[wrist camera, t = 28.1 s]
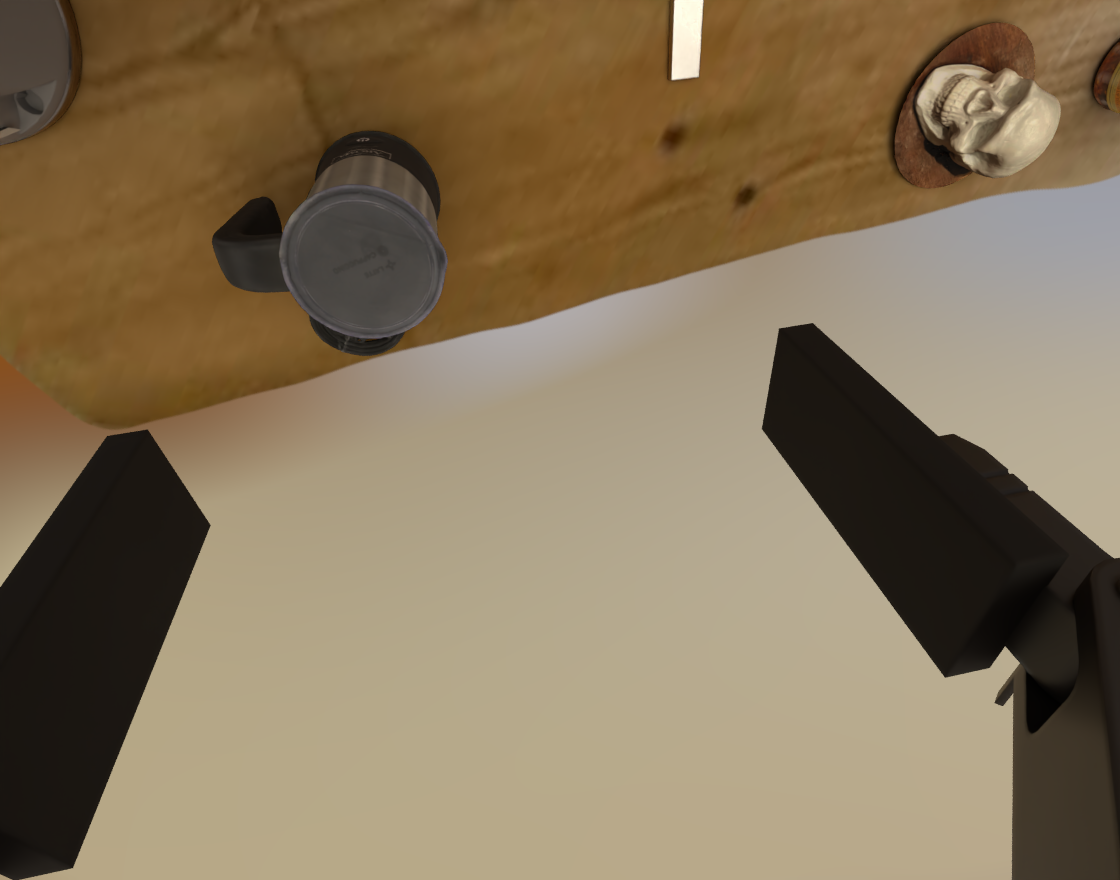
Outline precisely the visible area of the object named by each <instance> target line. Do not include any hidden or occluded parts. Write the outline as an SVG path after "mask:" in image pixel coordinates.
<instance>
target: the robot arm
mask: <svg viewBox="0 0 1120 880" xmlns="http://www.w3.org/2000/svg"><path fill="white" fill-rule="evenodd" d="M80 73H81V46H80V39H79V33H78V28H77V24H76V21H75V17H74V14H73V11H72V8H71V5H70V3H69V0H0V145H3V144H8V143H13V142H16V141H19V140H22V139H25V138H27V137H30V136H33V135H35V134H37V133H39V132H41V131H43V130H45V129H47V128H48V127H50V126H51V125H53V124H54V123H55V122H56V121H57V120H59V119H60V118H61V117H62V115H63V114H64V113H65V112H66V110H67V109H68V108H69V106H70V104H71V102H72V101H73V99H74V96H75V94H76V91H77V88H78V84H79V80H80ZM762 430H763V431H764V432H765V434H766V435H767V436H768V438H769V439H770V441H771V442H772V443H773V445H774V446H775V447H776V449H777V450H778V451H779V453H780V454H781V455H782V457H783V458H784V460H785V461H786V462H787V464H788V465H789V466H790V468H791V469H792V470H793V472H794V473H795V474H796V476H797V477H798V479H799V480H800V481H801V483H802V484H803V485H804V487H805V488H806V489H807V491H808V492H809V493H810V495H811V496H812V498H813V499H814V500H815V502H816V503H817V504H818V506H819V507H820V508H821V510H822V511H823V512H824V514H825V515H826V517H827V518H828V519H829V521H830V522H831V523H832V525H833V526H834V527H835V529H836V530H837V531H838V533H839V534H840V536H841V537H842V538H843V540H844V541H845V542H846V544H847V545H848V546H849V548H850V549H851V551H852V552H853V553H854V555H855V556H856V557H857V559H858V560H859V561H860V563H861V564H862V565H863V567H864V568H865V569H866V571H867V572H868V573H869V575H870V576H871V578H872V579H873V580H874V582H875V583H876V584H877V586H878V587H879V589H880V590H881V591H882V593H883V594H884V595H885V597H886V598H887V599H888V601H889V602H890V603H891V605H892V606H893V607H894V609H895V610H896V612H897V613H898V614H899V615H900V617H901V618H902V620H903V621H904V622H905V624H906V625H907V627H908V628H909V629H910V631H911V632H912V633H913V634H914V636H915V637H916V639H917V640H918V641H919V643H920V644H921V645H922V647H923V648H924V650H925V651H926V652H927V654H928V655H929V656H930V658H931V659H932V660H933V662H934V663H935V665H936V666H937V667H938V669H939V670H940V671H941V673H942V674H943V675H944V677H950V676H955V675H959V674H964V673H969V672H973V671H978V670H982V669H986V668H990V666H991V665H992V664H993V662H994V661H995V660H996V658H997V657H998V655H999V654H1000V652H1001V651H1002V650H1003V648H1004V647H1005V646H1006V647H1007V648H1008V650H1009V651H1010V652H1011V653H1012V654H1013V656H1014V657H1015V658H1016V659H1017V660H1018V661H1019V662H1020V664H1019V665H1018V667H1017V668H1016V669H1015V671H1014V672H1013V673H1012V675H1011V676H1010V677H1009V679H1008V680H1007V681H1006V683H1005V684H1004V685H1003V686H1002V688H1001V689H1000V690H999V692H998V695H997V697H996V700H995V703H996V704H998V705H1001V706H1003V705H1004V704H1005V703H1006V701H1007V700H1008V699H1009V698H1010V696H1011V695H1012V694H1014V695H1013V818H1012V820H1013V821H1012V823H1013V824H1012V828H1013V829H1012V880H1120V558H1115V559H1114V558H1113V557H1111V556H1110V555H1108V554H1107V553H1106V552H1105V551H1103V550H1102V549H1101V548H1099V546H1098V545H1096V544H1095V543H1094V542H1093V541H1092V540H1090V539H1089V538H1088V537H1087V536H1086V535H1085V534H1083V533H1082V532H1081V531H1080V530H1079V529H1078V528H1076V527H1075V526H1074V525H1073V524H1072V523H1070V522H1069V521H1068V520H1067V519H1066V518H1065V517H1063V516H1062V515H1061V514H1060V513H1059V512H1058V511H1056V510H1055V509H1054V508H1053V507H1052V506H1050V505H1049V504H1048V503H1047V502H1046V501H1044V500H1043V499H1042V498H1041V497H1040V496H1039V495H1037V494H1036V493H1035V492H1034V491H1029V490H1028V486H1027V485H1026V484H1025V483H1023V482H1022V481H1021V480H1020V479H1019V478H1018V477H1016V476H1015V475H1014V474H1009V473H1008V469H1007V468H1006V467H1005V466H1003V465H1002V464H1001V463H1000V462H998V461H997V460H996V459H995V458H994V457H993V456H992V455H990V454H989V453H988V452H987V451H986V450H985V449H982V448H981V447H979V446H977V445H975V444H973V443H971V442H969V441H967V440H965V439H963V438H960V437H958V436H957V435H955V434H949V435H944V436H937V435H936V434H935V433H934V432H933V431H932V430H931V429H930V428H928V427H927V426H926V425H925V424H924V423H923V422H922V421H921V420H919V419H918V418H917V417H916V416H915V415H914V414H913V413H912V412H911V411H910V410H908V409H907V408H906V407H905V406H904V405H903V404H902V403H901V402H900V401H898V400H897V399H896V398H895V397H894V396H893V395H892V394H891V393H890V392H888V391H887V390H886V389H885V388H884V387H883V386H882V385H881V384H880V383H879V382H877V381H876V380H875V379H874V378H873V377H872V376H871V375H870V374H869V373H867V372H866V371H865V370H864V369H863V368H862V367H861V366H860V365H859V364H857V363H856V362H855V361H854V360H853V359H852V358H851V357H850V356H849V355H847V354H846V353H845V352H844V351H843V350H842V349H841V348H840V347H839V346H837V345H836V344H835V343H834V342H833V341H832V340H830V338H828V337H827V336H826V335H825V334H824V333H823V332H822V331H821V330H820V329H819V328H817V327H816V326H815V325H814V324H813V323H811V324H805V325H798V326H792V327H786V328H780V329H779V333H778V339H777V345H776V350H775V356H774V362H773V368H772V374H771V379H770V385H769V391H768V397H767V403H766V408H765V414H764V420H763V426H762ZM209 528H210V524H209V522H208V521H207V519H206V518H205V516H204V515H203V513H202V512H201V510H200V509H199V507H198V506H197V504H196V502H195V501H194V499H193V498H192V496H191V495H190V493H189V492H188V490H187V489H186V487H185V486H184V484H183V483H182V481H181V479H180V478H179V476H178V475H177V473H176V472H175V470H174V469H173V467H172V466H171V464H170V463H169V461H168V460H167V458H166V457H165V455H164V454H163V452H162V451H161V449H160V448H159V446H158V444H157V443H156V442H155V440H154V438H153V437H152V436H151V434H150V432H149V431H148V430H142V431H136V432H130V433H123V434H117V435H111V436H107V437H106V439H105V440H104V441H103V443H102V444H101V446H100V447H99V448H98V450H97V451H96V453H95V454H94V456H93V457H92V459H91V460H90V461H89V463H88V464H87V466H86V467H85V468H84V470H83V471H82V473H81V474H80V475H79V477H78V478H77V479H76V481H75V482H74V484H73V485H72V487H71V488H70V490H69V491H68V492H67V494H66V495H65V496H64V498H63V500H62V501H61V502H60V504H59V505H58V506H57V508H56V509H55V511H54V512H53V514H52V515H51V516H50V518H49V519H48V521H47V522H46V523H45V525H44V526H43V528H42V529H41V531H40V532H39V533H38V535H37V536H36V538H35V539H34V540H33V542H32V543H31V545H30V546H29V547H28V549H27V550H26V552H25V553H24V555H23V556H22V557H21V559H20V560H19V562H18V563H17V564H16V566H15V567H14V569H13V570H12V572H11V573H10V574H9V576H8V577H7V579H6V580H5V582H4V583H3V584H2V586H1V587H0V874H1V875H3V876H6V877H8V878H10V879H12V880H20V879H25V878H29V877H34V876H38V875H43V874H48V873H52V872H57V871H62V870H66V869H71V868H73V866H74V864H75V861H76V859H77V856H78V854H79V851H80V849H81V846H82V844H83V841H84V839H85V836H86V834H87V832H88V829H89V826H90V824H91V822H92V819H93V817H94V814H95V812H96V809H97V806H98V804H99V802H100V799H101V797H102V794H103V792H104V789H105V787H106V784H107V782H108V779H109V777H110V774H111V771H112V769H113V767H114V764H115V762H116V759H117V757H118V754H119V752H120V749H121V747H122V744H123V742H124V739H125V737H126V734H127V732H128V729H129V727H130V724H131V722H132V719H133V717H134V714H135V712H136V710H137V707H138V705H139V702H140V700H141V697H142V695H143V692H144V690H145V687H146V685H147V682H148V680H149V677H150V675H151V672H152V670H153V667H154V665H155V662H156V660H157V657H158V655H159V652H160V650H161V647H162V645H163V642H164V640H165V637H166V635H167V632H168V630H169V627H170V625H171V623H172V620H173V617H174V615H175V612H176V610H177V607H178V605H179V603H180V600H181V598H182V595H183V593H184V590H185V588H186V585H187V582H188V580H189V578H190V575H191V573H192V570H193V568H194V565H195V563H196V560H197V558H198V555H199V553H200V550H201V548H202V545H203V543H204V540H205V538H206V535H207V533H208V530H209Z"/></svg>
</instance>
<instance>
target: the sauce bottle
mask: <svg viewBox="0 0 1120 880" xmlns="http://www.w3.org/2000/svg"><path fill="white" fill-rule="evenodd" d="M1093 92H1094V95H1095V98H1096V100H1097V101H1098V102H1099V104H1101V105H1102V106H1103V107H1104V108H1106V109H1109V110H1112V111H1114V112H1116V113H1120V41H1119V42H1118V43H1117V44H1116V45H1115V46H1114V47H1113V48H1112V49H1111V51H1110V52H1109V53H1108V55H1107V56H1106V58H1105V60H1104V61H1103V63H1102V65H1101V67H1100V69H1099V71H1098V73H1097V75H1096V79H1095V82H1094V89H1093Z"/></svg>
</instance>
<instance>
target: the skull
mask: <svg viewBox="0 0 1120 880" xmlns="http://www.w3.org/2000/svg"><path fill="white" fill-rule="evenodd" d="M1034 57H1035V55H1034V50H1033V46H1032V43H1031V42H1030V40H1029V39H1028V37H1027V35H1026V34H1025V33H1024V32H1023V31H1022V30H1021V29H1019V28H1018V27H1016V26H1014V25H1011V24H1007V23H991V24H987V25H983V26H980V27H977V28H975V29H973V30H970V31H968V32H967V33H965V34H963V35H962V36H960V37H959V38H957V39H956V40H954V41H953V42H952V43H951V44H949V45H948V46H947V47H946V48H945V49H944V50H942V51H941V52H940V53H939V54H938V55H937V56H936V57H935V58H934V59H933V60H932V62H931V63H930V64H929V65H928V66H927V67H926V68H925V70H924V71H923V72H922V73H921V75H920V76H919V77H918V79H917V80H916V83H915V84H914V86H912V88H911V90H910V92H909V94H908V96H907V100H906V101H905V103H904V105H903V109H902V111H901V113H900V117H899V121H898V124H897V127H896V128H897V129H896V132H895V133H896V134H895V142H894V143H895V145H894V146H895V156H894V157H896V161H897V165H898V168H899V170H900V172H901V173H902V175H903V176H904V177H905V178H906V179H907V180H908V181H909V182H911V183H912V184H914V185H916V186H919V187H923V188H937V187H942V186H943V187H944V186H946V185H950V184H952V183H954V182H956V181H959V180H961V179H963V178H965V177H966V176H968V175H969V174H971V173H972V172H975V173H977V174H980V175H983V176H986V177H991V178H1001V177H1007V176H1010V175H1012V174H1014V173H1016V172H1017V171H1019V170H1021V169H1023V168H1024V167H1026V166H1028V165H1029V164H1030V163H1032V162H1033V161H1034V160H1035V159H1037V158H1038V157H1039V156H1040V155H1041V154H1042V153H1043V151H1044V150H1045V149H1046V148H1047V146H1048V145H1049V143H1050V142H1051V140H1052V138H1053V136H1054V134H1055V132H1056V129H1057V127H1058V123H1059V119H1060V112H1061V108H1060V104H1059V101H1058V100H1057V98H1056V97H1055V96H1053V95H1052V94H1050V93H1048V92H1047V91H1044V90H1042V89H1041V88H1040V87H1039V86H1038V85H1037V84H1036V82H1035V81H1034V74H1035V58H1034Z"/></svg>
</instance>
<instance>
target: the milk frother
mask: <svg viewBox="0 0 1120 880" xmlns="http://www.w3.org/2000/svg"><path fill="white" fill-rule="evenodd" d="M439 211H440V193H439V187H438V184H437V181H436V178H435V175H434V173H433V171H432V170H431V167H430V166H429V164H428V163H427V161H426V160H425V159H424V158H423V157H422V155H421V154H420V153H419V152H418V151H417V150H416V149H415V148H414V147H412V146H411V145H410V144H408V143H407V142H406V141H403V140H402V139H400V138H398V137H396V136H394V135H390V134H388V133H384V132H377V131H361V132H356V133H352V134H349V135H347V136H344V137H342V138H341V139H339V140H338V141H336V142H335V143H333V145H331V146H330V147H329V148H328V149H327V151H326V152H325V153H324V155H323V156H322V158H321V160H320V162H319V165H318V168H317V171H316V177H315V184H314V185H313V187H312V189H311V190H310V192H309V194H308V196H307V198H306V200H305V201H304V202H303V203H301V204H300V205H299V207H298V208H297V209H296V210H295V211H294V212H293V213H292V215H291V216H290V218H289V219H288V221H287V223H286V225H285V228H284V231H283V233H282V226H281V221H280V218H279V216H278V213H277V210H276V207H275V205H274V203H273V201H272V200H271V199H269V198H267V197H260V198H255V199H252V200H250V201H249V202H248V203H247V204H245V206H243V207H242V208H241V209H240V210H239V211H238V212H237V213H236V214H235V215H233V216H232V217H231V218H230V219H229V220H228V221H227V222H226V223H225V224H224V225H223V226H222V227H221V228H220V229H219V230H217V231H216V232H215V234H214V235H213V238H212V244H213V248H214V252H215V254H216V257H217V260H218V262H219V265H220V267H221V269H222V271H223V273H224V275H225V277H226V278H227V280H228V281H229V282H230V283H231V284H232V285H233V286H235V287H237V288H240V289H243V290H247V291H252V292H265V293H267V292H288V291H290V292H291V294H292V295H293V297H294V298H295V300H296V301H297V302H298V303H299V305H300V306H301V307H302V308H303V309H304V310H305V311H306V312H307V313H308V314H309V317H310V322H311V325H312V327H313V329H314V331H315V332H316V334H317V335H318V336H319V337H320V338H321V339H322V340H323V341H324V342H326V343H327V344H329V345H330V346H332V347H334V348H336V349H338V350H341V351H342V352H345V353H350V354H354V355H360V356H361V355H362V356H370V355H377V354H381V353H383V352H385V351H387V350H389V349H391V348H392V347H394V346H395V345H396V344H397V343H398V342H399V341H400V339H401V338H402V337H403V335H404V333H405V331H406V330H409V329H411V328H412V327H414V326H416V325H417V324H419V323H420V322H421V321H422V320H423V319H424V318H425V317H426V316H427V315H428V314H429V313H430V312H431V311H432V309H433V308H434V307H435V305H436V303H437V301H438V299H439V297H440V295H441V291H442V289H443V285H444V277H445V272H446V268H447V263H448V260H447V255H446V251H445V249H444V247H443V246H442V244H441V243H440V241H439V239H438V234H437V219H438V216H439ZM373 338H380V339H377V340H372V341H366V339H373ZM358 339H360V340H361V341H358Z"/></svg>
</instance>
